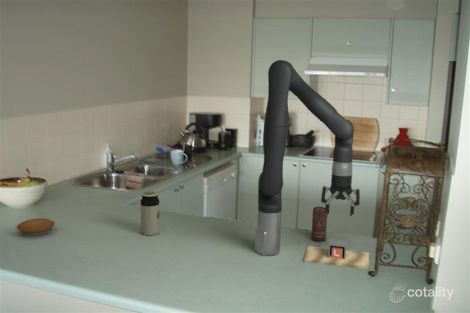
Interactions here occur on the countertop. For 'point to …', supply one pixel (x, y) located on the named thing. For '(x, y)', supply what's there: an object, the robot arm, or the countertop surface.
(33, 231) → the pie
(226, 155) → the countertop surface
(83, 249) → the countertop surface
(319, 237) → the can
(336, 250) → the letter cube
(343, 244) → the cover
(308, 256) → the board
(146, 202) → the travel mug
